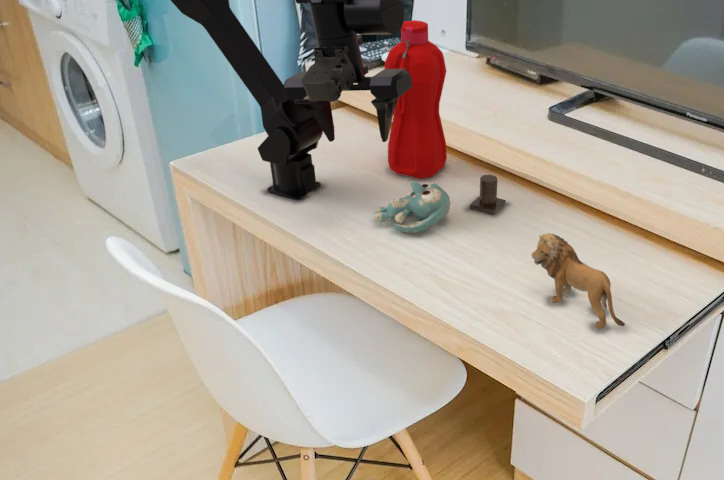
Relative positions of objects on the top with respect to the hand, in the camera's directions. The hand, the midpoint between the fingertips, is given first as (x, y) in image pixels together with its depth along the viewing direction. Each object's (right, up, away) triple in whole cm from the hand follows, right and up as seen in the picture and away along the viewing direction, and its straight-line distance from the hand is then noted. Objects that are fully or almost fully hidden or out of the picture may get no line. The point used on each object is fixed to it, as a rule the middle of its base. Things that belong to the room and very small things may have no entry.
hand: (358, 141), depth 121 cm
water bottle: (+7, -1, +19) cm, 20 cm away
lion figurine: (+31, -26, -14) cm, 43 cm away
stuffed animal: (+8, -12, +4) cm, 15 cm away
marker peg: (+20, -9, +8) cm, 23 cm away
